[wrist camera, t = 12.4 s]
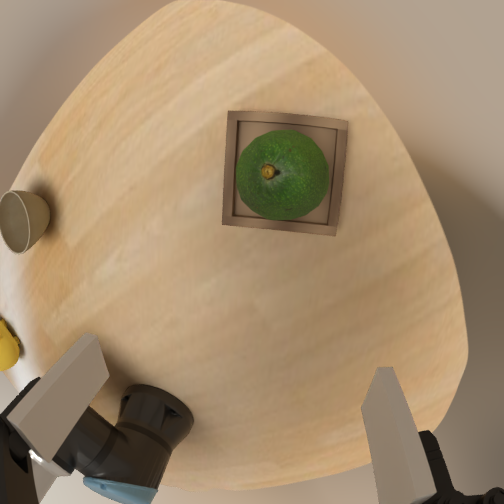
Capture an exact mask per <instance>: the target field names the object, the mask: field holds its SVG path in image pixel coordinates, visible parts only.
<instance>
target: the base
mask: <svg viewBox="0 0 504 504" xmlns="http://www.w3.org/2000/svg"><path fill="white" fill-rule="evenodd" d="M275 130H295V131H297V132H299V133H301V134H304V135H306V136H308V137H310V138H312V140H313V141H314V142H315V143H316V144H317V146H318V147H319V148H320V149H321V150H322V152H323V154H324V157H325V159H326V161H327V163H328V166H329V187H328V191H327V194H326V195H325V197H324V198H323V200H322V201H321V203H320V205H319V206H318V207H317V208H315V209H314V210H312V211H311V212H310V213H308V214H307V215H305V216H302V217H298V218H295V219H291V220H269V219H266V218H264V217H262V216H260V215H259V214H257V213H255V212H253V211H252V210H251V209H250V208H249V207H248V206H247V205H246V204H245V203H244V202H243V201H242V200H241V198H240V195H239V192H238V189H237V185H236V165H237V163H238V161H239V158H240V156H241V153H242V151H243V150H244V149H245V148H246V147H247V146H248V145H249V144H250V143H251V142H252V141H253V140H254V139H255V138H256V137H259V136H261V135H263V134H266V133H268V132H270V131H275ZM347 131H348V121H345V120H338V119H332V118H324V117H316V116H307V115H298V114H287V113H273V112H255V111H228V118H227V133H226V150H225V168H224V189H223V213H222V225H230V226H241V227H251V228H262V229H272V230H282V231H292V232H301V233H311V234H320V235H329V236H336V233H337V226H338V218H339V211H340V203H341V195H342V186H343V177H344V167H345V157H346V145H347Z"/></svg>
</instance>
